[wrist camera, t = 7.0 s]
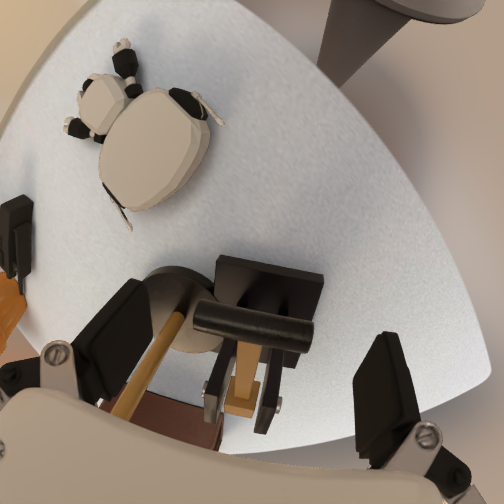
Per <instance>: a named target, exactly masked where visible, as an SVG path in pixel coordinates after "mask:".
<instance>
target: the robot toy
mask: <svg viewBox="0 0 504 504" xmlns="http://www.w3.org/2000/svg"><path fill="white" fill-rule="evenodd" d="M120 42H121V43H119V42H117V43H116V44H115V45H114V46H113V52H114V56H113V57H112V60H113V64H114V68H115V72H116V73H117V74H119V75H120V76H121V77H118V76H113V75H108V74H103V75H100V74H94V73H93V74H92V75H90V76H89V77H88V78H89V79H87V80H86V81H85V82H84V84H83V87H82V89H83V91H79V93H78V96H77V101H78V105H79V116H80V118H81V119H79V118H74V117H68V118H66V120H65V123H68V124H67V125H66V126H65V125H64V128H63V131H65V132H66V133H67V134H68V135H70V136H73V137H76V138H79V139H86V138H89V137H91V136H92V137H94V141H95V142H97V143H100V144H103V146H102V149H101V152H100V157H99V175H100V179H101V180H102V181H103V182H102V183H103V187H104V188H105V190H106V191H107V193H108V194H109V195H110V199H111V201H112V203H115V205H116V207H117V209H118V211H119V212H120V214H121V216H122V218H123V220H124V221H125V223H126V226H127V228H128V230H130V231H132V232H133V226H132V225H131V223H129V221H128V219H127V218H126V216H125V214H124V212H123V210H122V209H121V207H122V208H123V209H125V208H128V209H130V210H132V211H134V212H136V211H143V210H146V209H148V208H150V207H153V206H155V205H157V204H159V203H161V202H163V201H165V200H166V199H168V198H169V197H171V196H172V195H173V194H174V193H176V192H177V191H178V190H179V189H181V188H182V187H183V186H184V185H186V184H187V182H188V181H189V179H190V178H191V176H192V175H193V173H194V172H195V170H196V169H197V167H198V166H199V164H200V163H201V161H202V159H203V157H204V155H205V153H206V151H207V148H208V145H209V139H210V134H211V133H210V130H209V128H208V125H207V123H206V120H207V117H208V114H207V112H206V110H205V108H206V109H207V110H208V111H209V112H210V114H211V115H212V116H213V117H214V118H215V119H216V121H217V122H218V124H219V125H221V126H223V127H225V123H224V122H223V121H222V120H221V119H220V118H219V117H218V116H217V115H216V114H215V113H214V112H213V111H212V110H211V108H210V107H209V106H208V105H207V104H206V103H205V102H204V101H203V100H202V99H201V98H202V96H201V95H200V94H199V93H197V92H196V91H193V92H192V93H191V92H188V91H185V90H182V89H178V88H172V89H170V90H164V89H159V88H155V89H152V90H149V91H146V92H144V93H143V90H142V87H141V85H140V84H137V83H136V82H135V78H134V77H135V75H136V72H137V69H138V66H139V65H138V61H137V58H136V54H135V51H133V50H132V49H130V45H131V44H130V42H129V40H128V39H121V40H120Z"/></svg>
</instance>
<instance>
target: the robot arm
mask: <svg viewBox="0 0 504 504" xmlns="http://www.w3.org/2000/svg"><path fill="white" fill-rule="evenodd" d="M152 338H153V326H152V319H151V311H150V302H149V292H148V287H147V286H145V283H144V282H143V281H140V280H136V279H133V278H131V279H129V280H128V281H127V282H126V283H125V284H124V285H123V286H122V287H121V288H120V289H119V290H118V292H117V293H116V294H115V295H114V296H113V297H112V298H111V299H110V300H109V301H108V302H107V303H106V304H105V306H104V307H103V308H102V309H101V310H100V311H99V312H98V313H97V314H96V315H95V316H94V318H93V319H92V320H91V321H90V322H89V323H88V324H87V326H86V327H85V328H84V329H83V330H82V331H81V332H80V334H79V335H78V336H77V337H76V338H75V339H74V341H73V342H72V343H71V344H69V343H67V342H66V341H62V340H56V341H52V342H50V343H48V344H47V345H46V346H45V347H44V348H43V350H42V351H41V355H40V357H35V358H30V359H25V360H19V361H14V362H9V363H6V364H5V365H3V366H2V367H1V368H0V504H486V502H485V501H484V499H483V498H482V496H481V495H480V493H479V491H478V490H477V488H476V487H475V485H472V486H471V485H470V483H471V477H472V476H471V471H470V469H469V468H468V466H467V465H466V464H464V463H463V462H462V461H461V460H459V459H458V458H457V457H456V456H454V455H453V454H452V453H451V452H449V451H448V450H447V449H446V448H444V447H443V446H442V442H443V435H442V432H441V430H440V428H439V427H438V426H437V425H436V424H435V423H433V422H431V421H421V418H420V413H419V408H418V403H417V399H416V395H415V390H414V386H413V382H412V378H411V374H410V371H409V368H408V367H407V364H406V361H405V357H404V353H403V350H402V347H401V343H400V340H399V337H398V334H397V333H394V332H387V331H383V332H382V333H381V334H378V335H377V337H376V338H375V340H374V342H373V344H372V346H371V348H370V349H369V351H368V353H367V355H366V357H365V358H364V360H363V362H362V363H361V365H360V367H359V369H358V370H357V372H356V374H355V375H354V378H353V397H354V414H355V438H356V451H357V452H359V458H360V459H365V458H366V459H369V464H370V466H369V467H368V468H367V469H332V468H315V467H303V466H294V465H286V464H278V463H271V462H265V461H259V460H253V459H248V458H243V457H238V456H234V455H229V454H225V453H221V452H217V451H213V450H209V449H205V448H202V447H198V446H195V445H191V444H188V443H185V442H182V441H179V440H175V439H172V438H169V437H167V436H164V435H161V434H158V433H155V432H153V431H150V430H147V429H145V428H142V427H140V426H137V425H135V424H133V423H130V422H128V421H126V420H123V419H121V418H119V417H116V416H114V415H112V414H110V413H107V412H105V411H103V410H101V409H99V408H98V405H97V402H98V400H99V399H100V398H102V399H104V400H106V401H108V402H110V401H111V400H112V398H113V397H117V396H118V394H119V392H120V391H121V389H122V388H123V386H124V384H125V383H126V381H127V379H128V378H129V376H130V374H131V373H132V371H133V369H134V368H135V366H136V365H137V363H138V361H139V360H140V358H141V357H142V355H143V353H144V352H145V350H146V349H147V347H148V345H149V344H150V342H151V341H152Z"/></svg>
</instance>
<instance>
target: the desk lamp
mask: <svg viewBox="0 0 504 504" xmlns="http://www.w3.org/2000/svg"><path fill="white" fill-rule="evenodd" d="M143 282H144V283H145V286H147V287H148V292H149V302H150V311H151V319H152V326H153V336H154V337H155V338H156V339H155V341H154V342H153V344H152V345H151V347H150V349H149V350H148V352H147V353H146V355H145V357H144V358H143V360H142V361H141V363H140V365H139V366H138V368H137V369H136V371H135V373H134V374H133V376H132V378H131V379H130V381H129V382H128V384H127V386H126V387H125V389H124V391H123V392H122V394H121V396H120V397H119V399H118V401H117V402H116V404H115V406H114V407H113V409H112V411H111V412H110V414H112V415H114V416H116V417H119V418H121V419H123V420H126V421H128V422H129V420H130V419H131V417H132V415H133V413H134V411H135V409H136V407H137V406H138V404H139V402H140V400H141V398H142V396H143V394H144V393H145V391H146V389H147V387H148V385H149V383H150V382H151V380H152V378H153V376H154V374H155V373H156V371H157V369H158V367H159V365H160V364H161V362H162V360H163V358H164V356H165V355H166V353H167V351H168V349H169V348H170V347H171V348H173V349H176V350H179V351H183V352H188V353H203V352H207V351H210V350H212V349H214V348H216V347H217V346H218V345H220V343H221V342H222V341H223V340H224V337H219V336H215V335H211V334H207V333H203V332H199V331H195V330H194V329H193V325H192V321H193V314H194V310H195V307H196V305H197V303H198V301H199V300H200V299H205V300H210V301H214V302H218V303H219V301H218V300H217V299H216V297H215V296H214V283H213V282H211V281H210V280H209V279H208V278H206V277H205V276H203V275H202V274H200V273H198V272H196V271H194V270H191V269H188V268H185V267H179V266H165V267H161V268H158V269H156V270H154V271H152V272H151V273H150V274H149V275H148V276H147V277H146V278H145V279H144V280H143Z"/></svg>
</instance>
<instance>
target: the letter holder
mask: <svg viewBox="0 0 504 504" xmlns="http://www.w3.org/2000/svg"><path fill="white" fill-rule="evenodd" d="M126 386H127V383H125V384H124V386H123V388H122V389H121V391H120V392H119V394H118V396H117V397H113V398H112V400H111V401H110V402H108V401H106V400H103V401H102V403H101V405H100V406H99V409H101V410H103V411H105V412H107V413H110V412H111V411H112V409H113V407H114V406H115V404H116V402H117V401H118V399H119V397H120V396H121V394H122V392H123V391H124V389H125V387H126ZM223 421H224V414H223V413H219V416H218V419H217V423H216V424H212V423H209V422H205V421H204V409H203V408H200V407H196V406H193V405H189V404H185V403H182V402H179V401H176V400H172V399H169V398H166V397H162V396H160V395H157V394H153V393H151V392H148V391H145V393H144V394H143V396H142V398H141V400H140V402H139V404H138V406H137V407H136V409H135V411H134V413H133V415H132V417H131V419H130V420H129V422H130V423H133V424H135V425H137V426H140V427H142V428H145V429H147V430H150V431H153V432H155V433H158V434H161V435H164V436H167V437H169V438H172V439H175V440H179V441H182V442H185V443H188V444H191V445H195V446H198V447H202V448H205V449H209V450H213V451H217V452H218V451H219V448H220V445H221V441H222V434H223Z"/></svg>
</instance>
